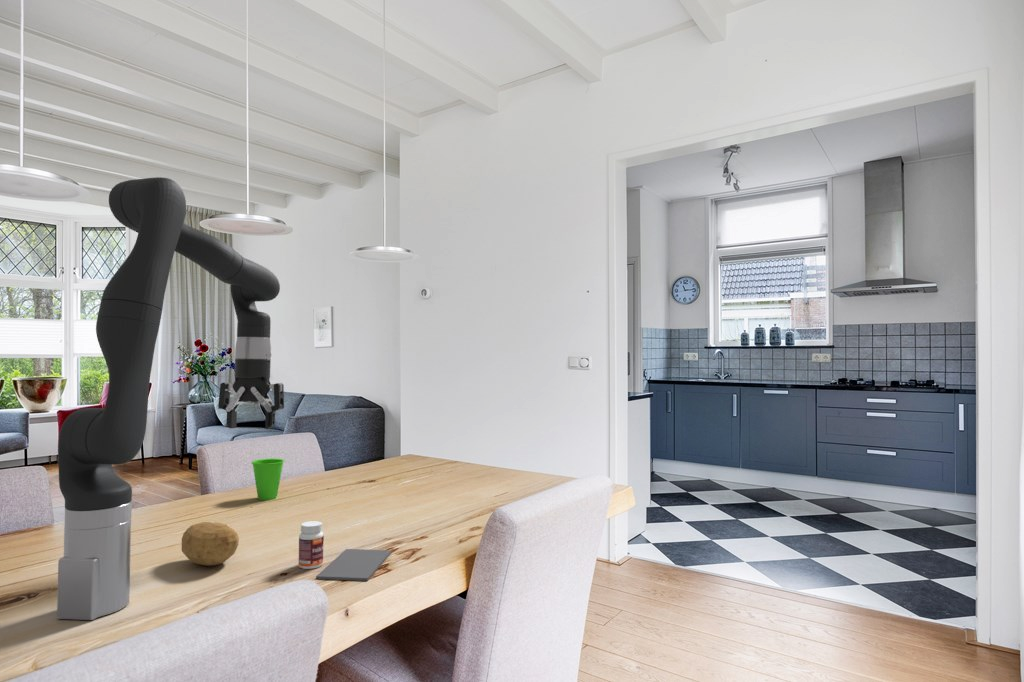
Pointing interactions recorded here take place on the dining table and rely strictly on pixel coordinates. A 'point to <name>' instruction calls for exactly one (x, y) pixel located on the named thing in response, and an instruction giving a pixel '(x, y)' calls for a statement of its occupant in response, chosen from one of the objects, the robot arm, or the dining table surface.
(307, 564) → the pill bottle
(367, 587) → the dining table surface
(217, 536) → the potato
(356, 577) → the mat
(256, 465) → the cup
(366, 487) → the dining table surface
